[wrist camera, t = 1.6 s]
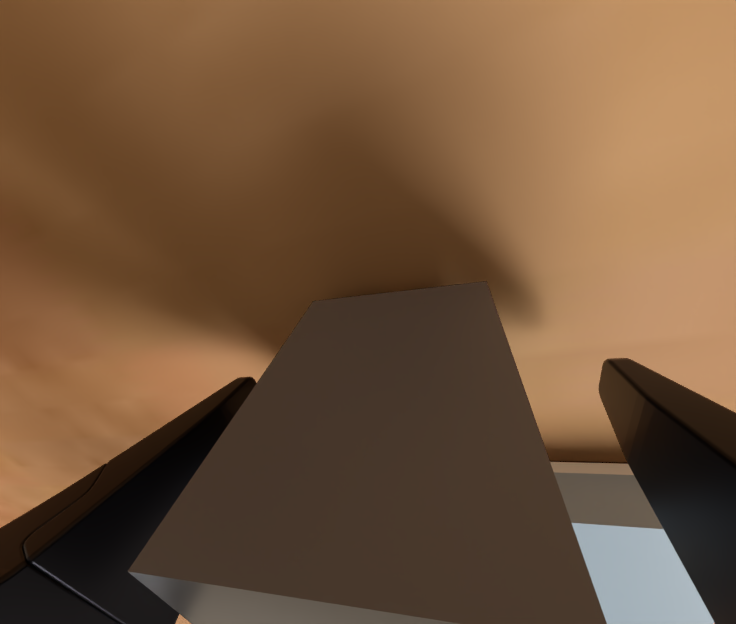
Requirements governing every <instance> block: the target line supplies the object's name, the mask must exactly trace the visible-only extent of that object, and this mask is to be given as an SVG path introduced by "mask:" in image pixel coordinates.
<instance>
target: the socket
mask: <svg viewBox="0 0 736 624" xmlns="http://www.w3.org/2000/svg"><path fill="white" fill-rule="evenodd" d="M550 463H551V466H552V469H553V472H554V475H555V477H556V480H557V483H558V486H559V489H560V492H561V494H562V497H563V500H564V503H565V506H566V509H567V512H568V514H569V517H570V520H571V523H572V526H573V529H574V531H575V534H576V537H577V540H578V543H579V546H580V549H581V551H582V554H583V557H584V560H585V563H586V566H587V568H588V571H589V574H590V577H591V580H592V583H593V586H594V588H595V591H596V594H597V597H598V600H599V603H600V605H601V608H602V611H603V614H604V617H605V620H606V623H607V624H713V623H714V621H713V619H712V617H711V615H710V613H709V611H708V610H707V608H706V606H705V604H704V602H703V601H702V599H701V597H700V595H699V593H698V591H697V590H696V588H695V586H694V584H693V582H692V580H691V579H690V577H689V575H688V573H687V571H686V569H685V568H684V566H683V564H682V562H681V560H680V558H679V557H678V555H677V553H676V551H675V549H674V547H673V546H672V544H671V542H670V540H669V538H668V537H667V535H666V533H665V531H664V529H663V527H662V526H661V524H660V522H659V520H658V518H657V516H656V515H655V513H654V511H653V509H652V507H651V505H650V504H649V502H648V500H647V498H646V496H645V494H644V493H643V491H642V489H641V487H640V485H639V483H638V482H637V480H636V478H635V476H634V474H633V472H632V470H631V469H630V467H629V465H628V464H618V463H578V462H550Z"/></svg>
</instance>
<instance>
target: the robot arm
mask: <svg viewBox="0 0 736 624" xmlns="http://www.w3.org/2000/svg"><path fill="white" fill-rule="evenodd" d="M256 384H257V383H256V381H255V380H254V379H253V378H252V377H240V378H237V379H235V380H234V381H232V382H231V383H229V384H228V385H226V386H225V387H223V388H221V389H220V390H218V391H217V392H215V393H214V394H212V395H211V396H209V397H208V398H206V399H204V400H203V401H201V402H200V403H198V404H197V405H195V406H194V407H192V408H191V409H189V410H187V411H186V412H184V413H183V414H181V415H180V416H178V417H177V418H175V419H174V420H172V421H170V422H169V423H167V424H166V425H164V426H163V427H161V428H160V429H158V430H157V431H155V432H153V433H152V434H150V435H149V436H147V437H146V438H144V439H143V440H141V441H139V442H138V443H136V444H135V445H133V446H132V447H130V448H129V449H127V450H126V451H124V452H122V453H121V454H119V455H118V456H116V457H115V458H113V459H112V460H110V461H109V462H108V463H106V464H104V465H102V466H101V467H99V468H98V469H96V470H95V471H93V472H91V473H90V474H88V475H87V476H85V477H84V478H82V479H80V480H79V481H77V482H76V483H74V484H72V485H71V486H69V487H68V488H66V489H65V490H63V491H61V492H60V493H58V494H56V495H55V496H53V497H51V498H50V499H48V500H46V501H45V502H43V503H42V504H40V505H38V506H37V507H35V508H33V509H32V510H30V511H28V512H27V513H25V514H23V515H21V516H20V517H18V518H16V519H15V520H13V521H11V522H10V523H8V524H6V525H5V526H3V527H1V528H0V624H175V623H176V620H177V618H178V616H179V613H178V612H177V611H176V610H174V609H173V608H172V607H171V606H169V605H168V604H167V603H166V602H165V601H163V600H162V599H161V598H160V597H158V596H157V595H156V594H155V593H153V592H152V591H151V590H150V589H149V588H147V587H146V586H145V585H144V584H142V583H141V582H140V581H139V580H137V579H136V578H135V577H134V576H133V575H131V574H130V573H129V572H128V570H129V568H130V567H131V566H132V564H133V563H134V561H135V560H136V558H137V557H138V555H139V554H140V552H141V551H142V550H143V548H144V547H145V545H146V544H147V542H148V541H149V539H150V538H151V536H152V535H153V534H154V532H155V531H156V529H157V528H158V526H159V525H160V523H161V522H162V520H163V519H164V518H165V516H166V515H167V513H168V512H169V510H170V509H171V507H172V506H173V504H174V503H175V502H176V500H177V499H178V497H179V496H180V494H181V493H182V491H183V490H184V488H185V487H186V486H187V484H188V483H189V481H190V480H191V478H192V477H193V475H194V474H195V472H196V471H197V470H198V468H199V467H200V465H201V464H202V462H203V461H204V459H205V458H206V456H207V455H208V454H209V452H210V451H211V449H212V448H213V446H214V445H215V443H216V442H217V440H218V439H219V438H220V436H221V435H222V433H223V432H224V430H225V429H226V427H227V426H228V424H229V423H230V422H231V420H232V419H233V417H234V416H235V414H236V413H237V411H238V410H239V408H240V407H241V406H242V404H243V403H244V401H245V400H246V398H247V397H248V395H249V394H250V392H251V391H252V390H253V388H254V387H255V385H256ZM599 394H600V397H601V400H602V402H603V405H604V407H605V410H606V412H607V415H608V417H609V420H610V422H611V424H612V427H613V429H614V432H615V434H616V437H617V439H618V442H619V444H620V446H621V449H622V451H623V454H624V456H625V458H626V460H627V463H628V465H629V467H630V469H631V470H632V472H633V474H634V476H635V478H636V480H637V482H638V483H639V485H640V487H641V489H642V491H643V493H644V494H645V496H646V498H647V500H648V502H649V504H650V505H651V507H652V509H653V511H654V513H655V515H656V516H657V518H658V520H659V522H660V524H661V526H662V527H663V529H664V531H665V533H666V535H667V537H668V538H669V540H670V542H671V544H672V546H673V547H674V549H675V551H676V553H677V555H678V557H679V558H680V560H681V562H682V564H683V566H684V568H685V569H686V571H687V573H688V575H689V577H690V579H691V580H692V582H693V584H694V586H695V588H696V590H697V591H698V593H699V595H700V597H701V599H702V601H703V602H704V604H705V606H706V608H707V610H708V611H709V613H710V615H711V617H712V619H713V621H714V622H715V624H736V413H735V412H733V411H731V410H729V409H727V408H725V407H723V406H721V405H719V404H717V403H715V402H713V401H711V400H709V399H708V398H706V397H704V396H702V395H700V394H698V393H696V392H694V391H692V390H690V389H688V388H686V387H684V386H682V385H680V384H678V383H676V382H674V381H672V380H670V379H668V378H666V377H664V376H662V375H660V374H658V373H656V372H654V371H652V370H651V369H649V368H647V367H645V366H643V365H641V364H639V363H637V362H635V361H633V360H631V359H628V358H614V359H607V360H605V361H604V363H603V366H602V372H601V377H600V383H599Z"/></svg>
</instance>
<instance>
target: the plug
mask: <svg viewBox="0 0 736 624" xmlns="http://www.w3.org/2000/svg"><path fill="white" fill-rule="evenodd" d="M128 572H129V573H130V574H131V575H133V576H134V577H135V578H136V579H137V580H139V581H140V582H141V583H142V584H144V585H145V586H146V587H147V588H149V589H150V590H151V591H152V592H153V593H155V594H156V595H157V596H158V597H160V598H161V599H162V600H163V601H165V602H166V603H167V604H168V605H169V606H171V607H172V608H173V609H174V610H176V611H177V612H178V613H179V614H181V615H182V616H183V617H184V618H185V619H187V620H188V621H189V622H190V623H192V624H607V623H606V620H605V617H604V614H603V611H602V608H601V605H600V603H599V600H598V597H597V594H596V591H595V588H594V586H593V583H592V580H591V577H590V574H589V571H588V568H587V566H586V563H585V560H584V557H583V554H582V551H581V549H580V546H579V543H578V540H577V537H576V534H575V531H574V529H573V526H572V523H571V520H570V517H569V514H568V512H567V509H566V506H565V503H564V500H563V497H562V494H561V492H560V489H559V486H558V483H557V480H556V477H555V475H554V472H553V469H552V466H551V463H550V460H549V457H548V455H547V452H546V449H545V446H544V443H543V440H542V438H541V435H540V432H539V429H538V426H537V423H536V420H535V418H534V415H533V412H532V409H531V406H530V403H529V401H528V398H527V395H526V392H525V389H524V386H523V383H522V381H521V378H520V375H519V372H518V369H517V366H516V364H515V361H514V358H513V355H512V352H511V349H510V346H509V344H508V341H507V338H506V335H505V332H504V329H503V327H502V324H501V321H500V318H499V315H498V312H497V309H496V307H495V304H494V301H493V298H492V295H491V292H490V290H489V287H488V284H487V281H484V282H475V283H466V284H458V285H449V286H440V287H432V288H423V289H414V290H406V291H397V292H388V293H380V294H371V295H362V296H354V297H345V298H336V299H328V300H319V301H313V302H312V304H311V305H310V307H309V308H308V310H307V311H306V312H305V314H304V315H303V317H302V318H301V320H300V321H299V323H298V324H297V326H296V327H295V328H294V330H293V331H292V333H291V334H290V336H289V337H288V339H287V340H286V342H285V343H284V344H283V346H282V347H281V349H280V350H279V352H278V353H277V355H276V356H275V358H274V359H273V360H272V362H271V363H270V365H269V366H268V368H267V369H266V371H265V372H264V374H263V375H262V376H261V378H260V379H259V381H258V382H257V384H256V385H255V387H254V388H253V390H252V391H251V392H250V394H249V395H248V397H247V398H246V400H245V401H244V403H243V404H242V406H241V407H240V408H239V410H238V411H237V413H236V414H235V416H234V417H233V419H232V420H231V422H230V423H229V424H228V426H227V427H226V429H225V430H224V432H223V433H222V435H221V436H220V438H219V439H218V440H217V442H216V443H215V445H214V446H213V448H212V449H211V451H210V452H209V454H208V455H207V456H206V458H205V459H204V461H203V462H202V464H201V465H200V467H199V468H198V470H197V471H196V472H195V474H194V475H193V477H192V478H191V480H190V481H189V483H188V484H187V486H186V487H185V488H184V490H183V491H182V493H181V494H180V496H179V497H178V499H177V500H176V502H175V503H174V504H173V506H172V507H171V509H170V510H169V512H168V513H167V515H166V516H165V518H164V519H163V520H162V522H161V523H160V525H159V526H158V528H157V529H156V531H155V532H154V534H153V535H152V536H151V538H150V539H149V541H148V542H147V544H146V545H145V547H144V548H143V550H142V551H141V552H140V554H139V555H138V557H137V558H136V560H135V561H134V563H133V564H132V566H131V567H130V568H129V570H128Z"/></svg>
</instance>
